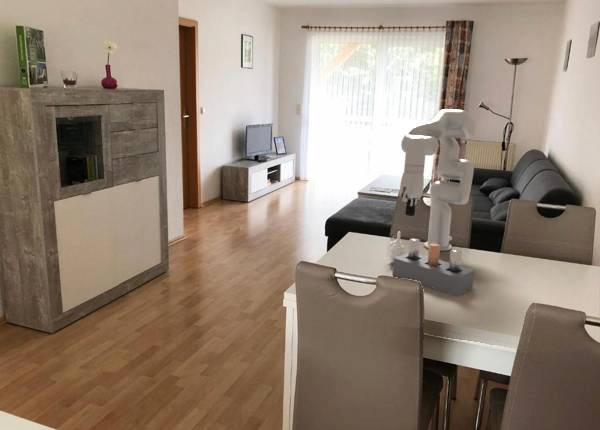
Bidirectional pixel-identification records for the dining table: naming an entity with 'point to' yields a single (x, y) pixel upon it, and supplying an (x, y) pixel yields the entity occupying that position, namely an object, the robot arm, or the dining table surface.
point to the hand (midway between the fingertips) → (409, 215)
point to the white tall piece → (396, 248)
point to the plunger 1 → (414, 249)
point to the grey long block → (434, 274)
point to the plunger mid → (433, 255)
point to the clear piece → (455, 260)
